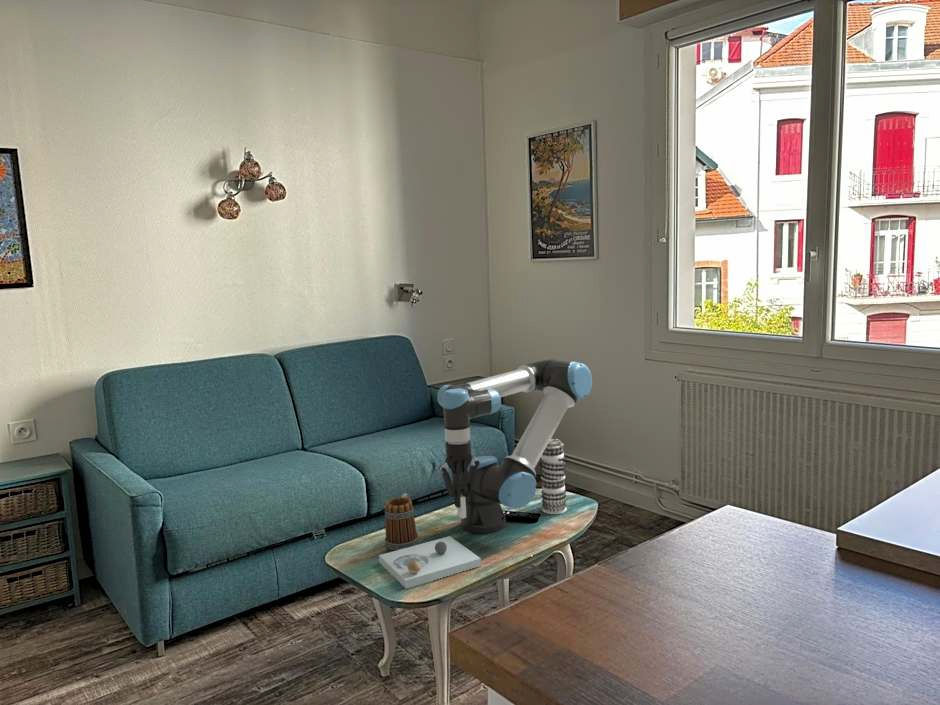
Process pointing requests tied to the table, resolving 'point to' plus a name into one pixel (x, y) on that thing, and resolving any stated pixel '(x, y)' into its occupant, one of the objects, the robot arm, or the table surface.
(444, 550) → the ball
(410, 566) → the cork ball
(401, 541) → the mug
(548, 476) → the decorative candle
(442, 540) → the white slab
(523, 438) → the robot arm
